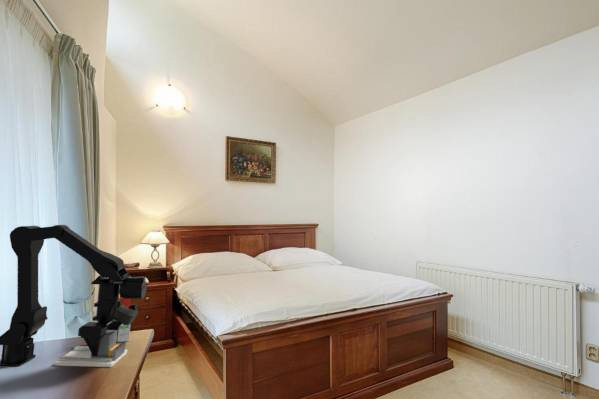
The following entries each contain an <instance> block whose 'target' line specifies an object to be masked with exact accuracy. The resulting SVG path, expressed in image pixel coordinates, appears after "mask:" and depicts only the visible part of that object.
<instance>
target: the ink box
mask: <svg viewBox="0 0 599 399" xmlns="http://www.w3.org/2000/svg"><path fill="white" fill-rule="evenodd" d="M119 300H121V301H122V306H125V307H126V306H128V307H129V306H131V300H132V299H123V297H119ZM130 332H131V323H130V324H129V325H124V324H122V325H121V326H120V328H119V330H118V333H117V339H116V344H117V343H122V342H125V343H126V342H129V341H130Z"/></svg>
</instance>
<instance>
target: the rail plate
mask: <svg viewBox="0 0 599 399" xmlns="http://www.w3.org/2000/svg"><path fill="white" fill-rule="evenodd" d="M117 345H118V346H117V347H116V348H115V349H113V350H112V357H94V356H91V351H90V349H89V347H88V345H85V346H83V345H81V346H80V345H76V346H74V347H73V348H74V349H72V350H71V351H69V352H67V353H66V354H65V355H60V356H59V357H58V359H57V360H56V361H54V366H60V367H61V366H62V367H63V366H64V367H94V368H95V367H98V368H112V367H113V366H114V365H116V363H118V362H119V361H120V360H121V359H122V358H123V357H125V355H126V354H128V349H127V348H126V341H125V342H120V344H117Z"/></svg>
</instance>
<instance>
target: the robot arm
mask: <svg viewBox="0 0 599 399" xmlns="http://www.w3.org/2000/svg"><path fill="white" fill-rule="evenodd" d="M9 239H10V240H9V241H10V246H11V249H12V251H13V252H14V253H15V256H16V257H17V269H16V270H17V278H16V279H17V285H16V286H17V291H16V292H17V293H16V294H17V297H16V298H17V305H16V307H15V310H14V312H13V314H12V316H11V319H10V324H9V328H8V329H7V330H6V331H5V332H3V333H2V334H1V335H0V346H2V349H1V359H0V366H7V367H8V366H11V367H12V366H13V367H18V366H21V365H23V364H25V363H27V362H28V361H29V362H30V360H33V359H34V358H35V357H36V356H37V355H36V354H35V353H34V352H35V343H34V337H33V336H35V335H37V333H38V331H39V330H40V329H41V328H43V327H44V325H45V323H46V321H47V320H48V316H47V312H48V307H47V306H46V305H45V306H41V304H40V302H39V254H40V253H41V250H42V249H43V246H44V243H45V240H49V239H56V240H57V241H59V242H60V243H61V244H63V245H65V247H67V248H69V249H70V250H71V251H73V252H74V253H76V254H77V255H79V256H80V257H81V258H83V259H85V260H86V261H87V262H88V263H89V264H90V265H91V267H92V269H93V271H95V272H96V273H97V274H98V276H97V277H96V278H95V279H94V280H93V281H91V282H90V283H91V285H98V290H97V291H98V292H97V293H98V294H97V302H94V304H93V307H94V308H96V314H95V315H94V316H92V321H88V322H86V323H84V324H83V325H81V326H80V327H79V328H78V331H77V332H78V333H77V337H80V338H81V339H83V340H84V342H85V343H86V346H88V347H89V349H90V351H91V353H92V355H93V356H97V355H98V352H99V347H100V343H101V339H102V338H103V337H104V336H105V335H106V334H107V333H106V331H107V330H117V333H118V330H119V328H120V326H121V325H122V324H124V325H129V324H130V325H131V324H132V323H134V321H135V318H136V317H137V316H138V315H139V308H138V304H135V303H132V304H130V306H129V307H128V306H126V307H125V306H122V302H123V300H119V298H123V299H131V300H139V299H140V300H143V299H145V296H146V293H147V287H148V286H147V282H146V276H131V275H130V273H129V272H128V271H127V268H126V267H125V263H124V260H123V259H122V258H121V257H119V256H117V255H114V254H113V253H111V252H110V253H109V252H107V251H104V250H102V249H99V248H98V247H97V246H95V245H94V244H92V243H91V242H89V241H88V240H87V239H85V238H84V237H82V236H80V234H78V233H77V232H75V231H74V230H72V229H71V228H70V227H69V226H68V225H66V224H57V225H56V224H54V225H51V226H42V227H41V226H39V225H23V226H21V225H20V226H17V227H15V228H13V230H12V231H10V233H9Z"/></svg>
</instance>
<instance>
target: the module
mask: <svg viewBox="0 0 599 399" xmlns="http://www.w3.org/2000/svg"><path fill="white" fill-rule="evenodd" d="M106 333H107V334H106V335H105V336H104V337H103V338H102V339H101V343H100V347H99V352H98V355H97V356H94V357H108V354H109V350H110V349H111V348H112V347H114V346H115V345H117V343H116V339H117V330H107V331H106ZM91 356H93V355H92V353H91Z"/></svg>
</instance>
